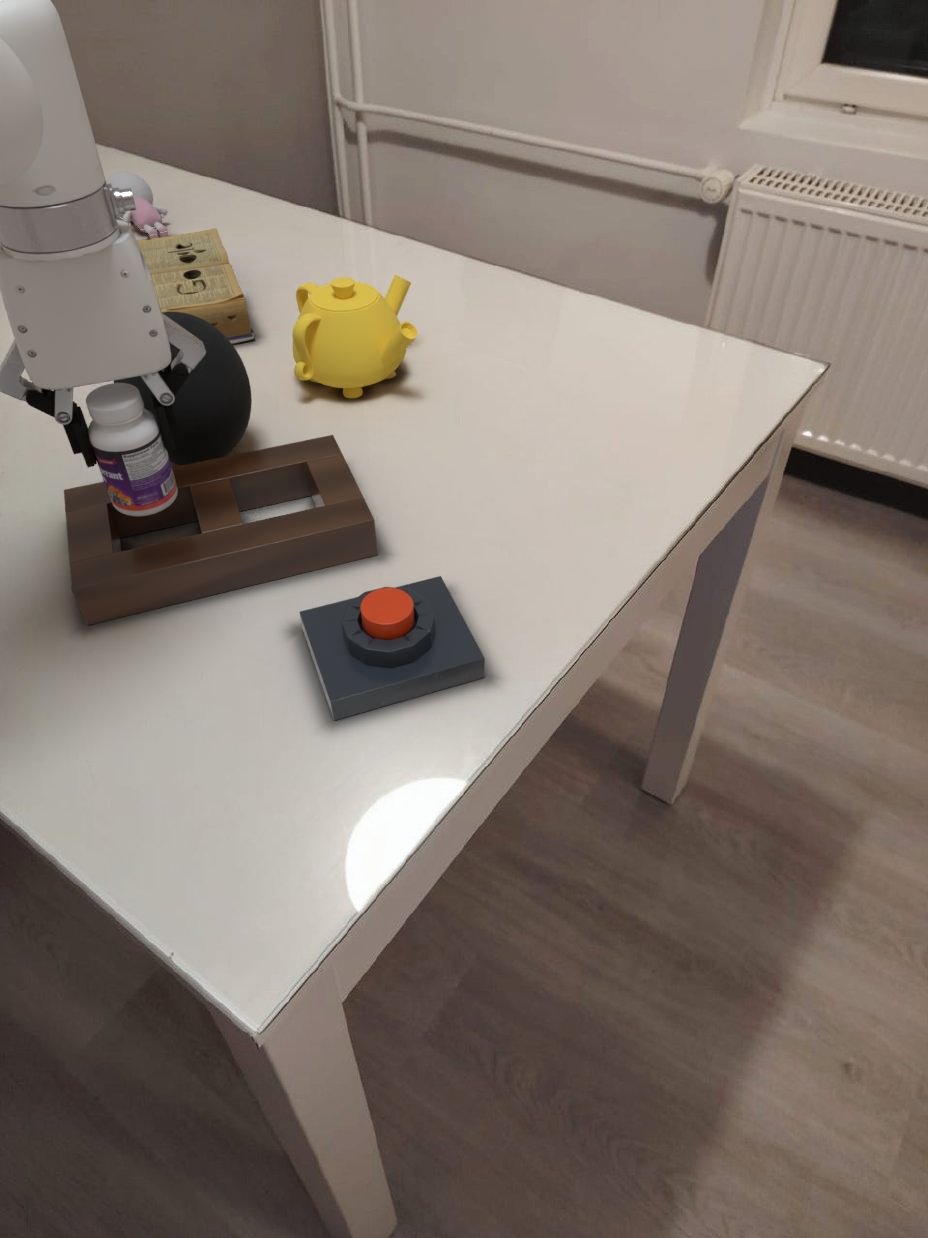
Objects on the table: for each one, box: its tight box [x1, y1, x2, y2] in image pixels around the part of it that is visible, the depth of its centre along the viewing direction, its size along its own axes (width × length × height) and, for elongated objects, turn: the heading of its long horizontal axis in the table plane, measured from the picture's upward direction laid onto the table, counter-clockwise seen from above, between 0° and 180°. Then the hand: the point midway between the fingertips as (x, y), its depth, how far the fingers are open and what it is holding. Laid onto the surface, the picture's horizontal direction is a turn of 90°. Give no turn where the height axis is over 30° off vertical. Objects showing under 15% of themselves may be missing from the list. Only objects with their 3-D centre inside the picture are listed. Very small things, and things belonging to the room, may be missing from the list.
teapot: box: [292, 274, 419, 399], centre depth 96 cm, size 14×14×11 cm
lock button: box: [360, 587, 414, 640], centre depth 66 cm, size 4×4×2 cm
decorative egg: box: [113, 312, 253, 466], centre depth 83 cm, size 12×12×15 cm
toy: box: [106, 171, 169, 239], centre depth 131 cm, size 8×7×15 cm
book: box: [136, 227, 256, 344], centre depth 110 cm, size 25×17×6 cm
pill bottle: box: [85, 382, 178, 516], centre depth 69 cm, size 5×5×10 cm
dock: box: [63, 434, 379, 626], centre depth 78 cm, size 14×25×4 cm, turn 111°
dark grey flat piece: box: [299, 575, 486, 722], centre depth 67 cm, size 12×10×4 cm
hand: (130, 447), depth 70 cm, fingers closed on pill bottle, 5 cm apart
